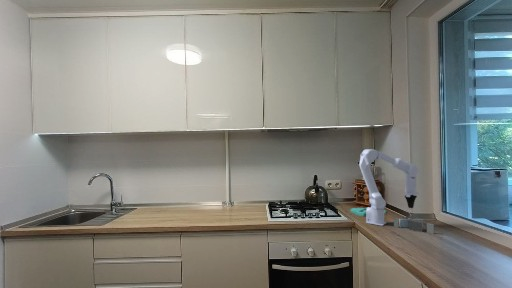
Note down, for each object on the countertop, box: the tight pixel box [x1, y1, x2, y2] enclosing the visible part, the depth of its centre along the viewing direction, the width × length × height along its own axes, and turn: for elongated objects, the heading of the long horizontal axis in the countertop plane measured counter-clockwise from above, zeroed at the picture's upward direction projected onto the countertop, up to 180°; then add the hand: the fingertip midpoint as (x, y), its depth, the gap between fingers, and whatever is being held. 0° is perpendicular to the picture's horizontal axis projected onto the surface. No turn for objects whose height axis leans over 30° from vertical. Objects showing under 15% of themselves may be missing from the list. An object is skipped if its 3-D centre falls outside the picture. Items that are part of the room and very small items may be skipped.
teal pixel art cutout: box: [349, 207, 387, 217], centre depth 185 cm, size 20×2×20 cm
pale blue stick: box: [400, 218, 424, 228], centre depth 151 cm, size 12×1×4 cm, turn 88°
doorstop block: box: [408, 218, 424, 233], centre depth 147 cm, size 6×5×5 cm
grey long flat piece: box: [393, 217, 435, 234], centre depth 147 cm, size 19×1×5 cm, turn 48°
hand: (410, 207), depth 159 cm, fingers closed
